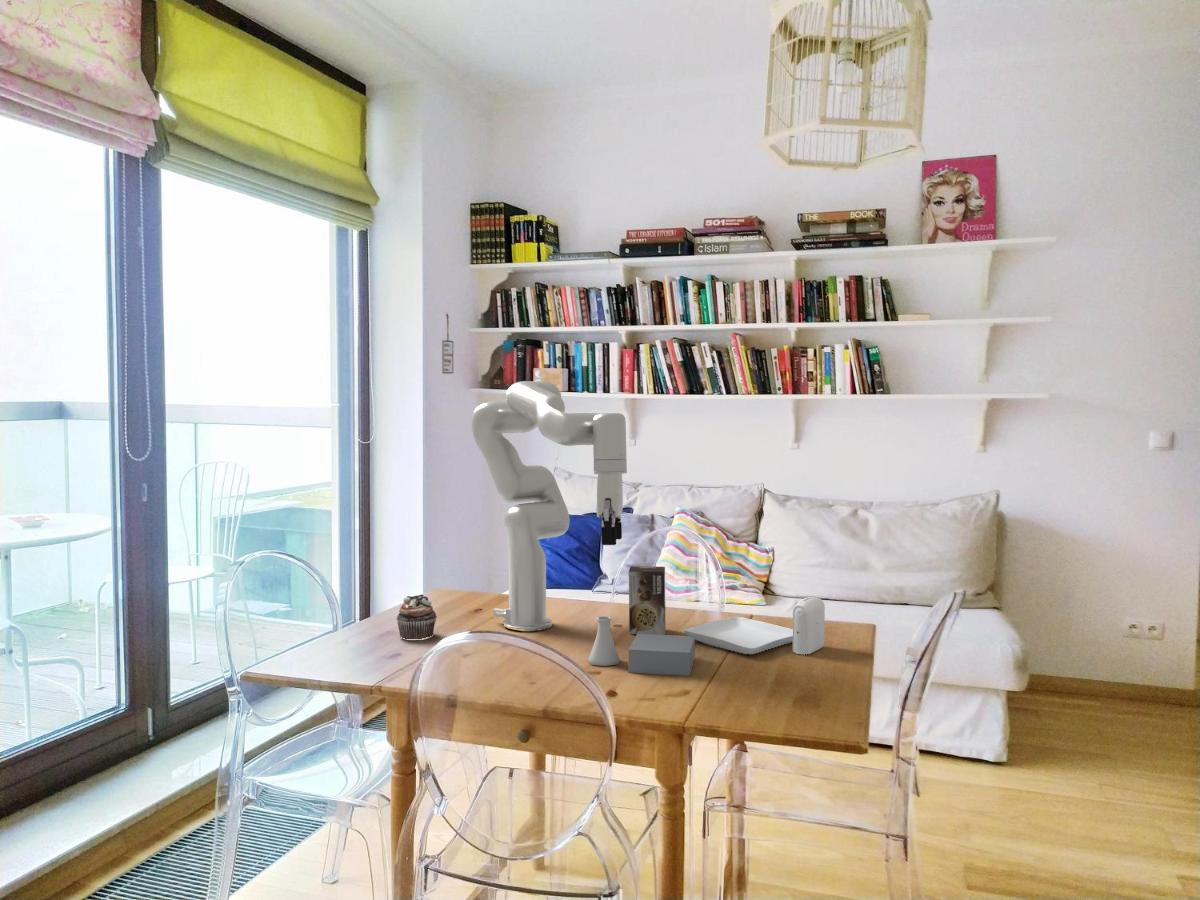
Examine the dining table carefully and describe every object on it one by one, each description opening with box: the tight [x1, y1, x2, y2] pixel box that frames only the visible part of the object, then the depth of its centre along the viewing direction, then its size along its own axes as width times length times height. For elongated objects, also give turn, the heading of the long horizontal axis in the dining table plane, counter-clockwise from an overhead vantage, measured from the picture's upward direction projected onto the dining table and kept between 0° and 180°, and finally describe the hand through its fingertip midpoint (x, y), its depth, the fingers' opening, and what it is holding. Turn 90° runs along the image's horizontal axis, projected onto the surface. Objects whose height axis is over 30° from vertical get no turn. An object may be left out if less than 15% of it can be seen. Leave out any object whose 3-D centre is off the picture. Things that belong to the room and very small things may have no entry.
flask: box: [587, 615, 621, 667], centre depth 196 cm, size 7×7×10 cm
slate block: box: [627, 634, 696, 677], centre depth 194 cm, size 13×13×5 cm
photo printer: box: [792, 596, 826, 656], centre depth 206 cm, size 10×4×12 cm, turn 141°
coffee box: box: [628, 565, 667, 635], centre depth 222 cm, size 9×6×16 cm
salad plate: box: [682, 616, 793, 656], centre depth 213 cm, size 21×21×3 cm
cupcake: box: [396, 594, 437, 639], centre depth 217 cm, size 10×10×10 cm
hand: (612, 541), depth 203 cm, fingers open, 9 cm apart
